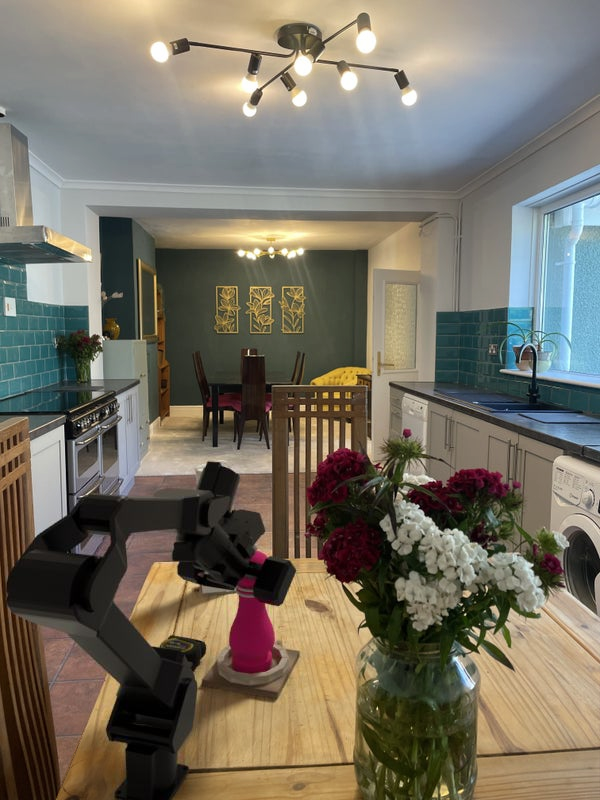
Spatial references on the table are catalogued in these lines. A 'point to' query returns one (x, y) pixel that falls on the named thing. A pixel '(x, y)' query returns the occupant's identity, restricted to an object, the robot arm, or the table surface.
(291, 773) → the table surface
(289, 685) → the table surface
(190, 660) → the tape measure
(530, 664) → the table surface
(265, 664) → the pepper mill
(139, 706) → the robot arm
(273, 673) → the stand
